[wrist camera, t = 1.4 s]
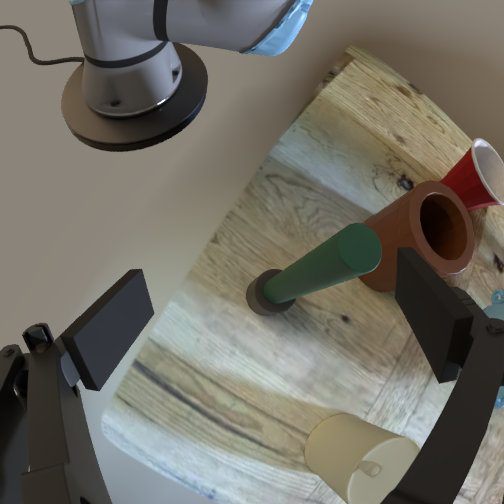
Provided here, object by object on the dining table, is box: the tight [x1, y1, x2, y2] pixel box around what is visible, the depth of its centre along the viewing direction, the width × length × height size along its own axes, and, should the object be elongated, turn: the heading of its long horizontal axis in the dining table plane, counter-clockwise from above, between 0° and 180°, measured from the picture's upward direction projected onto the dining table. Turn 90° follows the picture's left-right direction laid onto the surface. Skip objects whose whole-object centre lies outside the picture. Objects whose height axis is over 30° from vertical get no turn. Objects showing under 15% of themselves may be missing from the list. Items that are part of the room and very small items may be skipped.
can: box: [304, 413, 421, 504], centre depth 28 cm, size 9×9×12 cm
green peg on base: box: [246, 223, 382, 315], centre depth 26 cm, size 4×4×22 cm
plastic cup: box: [440, 138, 504, 211], centre depth 40 cm, size 11×11×12 cm
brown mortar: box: [358, 181, 474, 292], centre depth 34 cm, size 10×10×13 cm
